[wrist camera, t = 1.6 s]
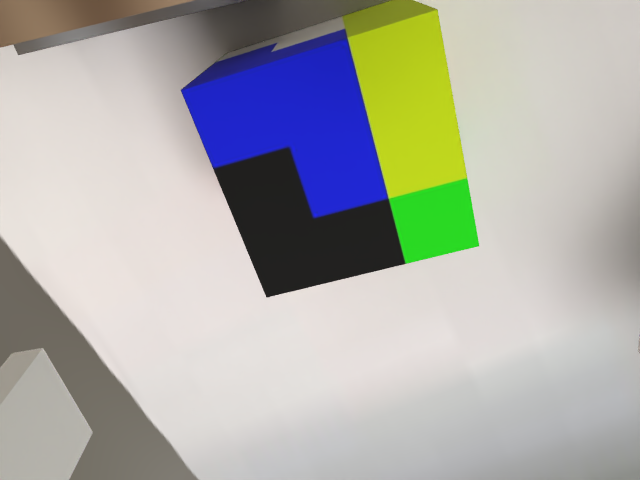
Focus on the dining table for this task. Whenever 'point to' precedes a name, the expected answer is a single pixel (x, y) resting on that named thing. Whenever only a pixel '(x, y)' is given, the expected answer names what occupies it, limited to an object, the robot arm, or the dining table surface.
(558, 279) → the dining table surface
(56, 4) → the plinth
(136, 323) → the dining table surface
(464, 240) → the puzzle toy
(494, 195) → the dining table surface
